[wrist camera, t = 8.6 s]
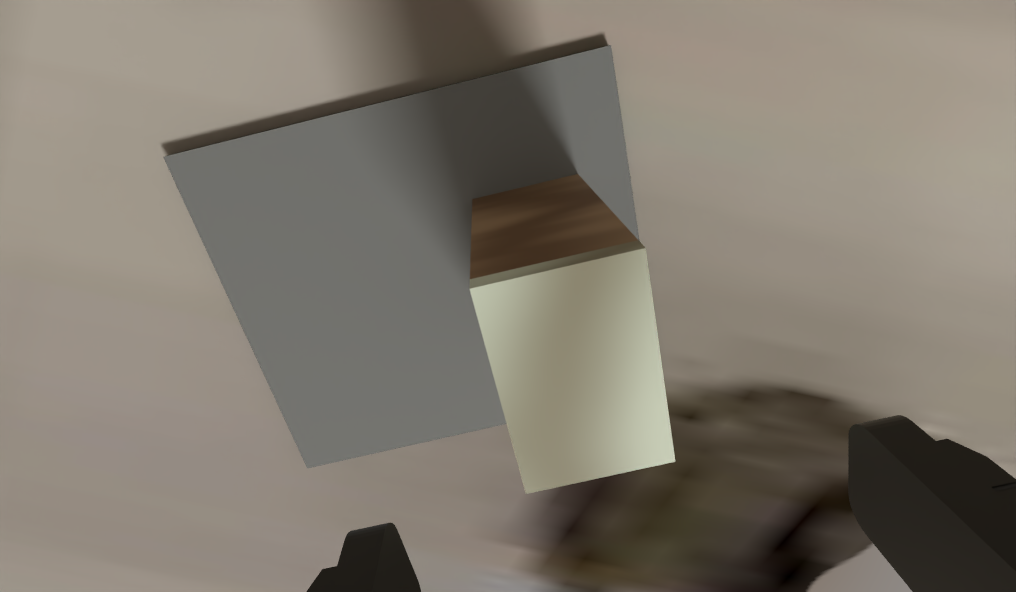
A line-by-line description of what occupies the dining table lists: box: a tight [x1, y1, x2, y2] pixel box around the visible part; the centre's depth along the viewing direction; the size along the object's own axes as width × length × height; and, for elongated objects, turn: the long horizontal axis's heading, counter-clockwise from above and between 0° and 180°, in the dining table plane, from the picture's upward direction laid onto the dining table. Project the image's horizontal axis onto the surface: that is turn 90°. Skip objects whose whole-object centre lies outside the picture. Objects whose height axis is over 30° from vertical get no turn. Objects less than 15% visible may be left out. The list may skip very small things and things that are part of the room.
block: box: [469, 174, 675, 494], centre depth 18 cm, size 4×6×9 cm, turn 13°
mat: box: [164, 45, 639, 468], centre depth 22 cm, size 16×14×1 cm
